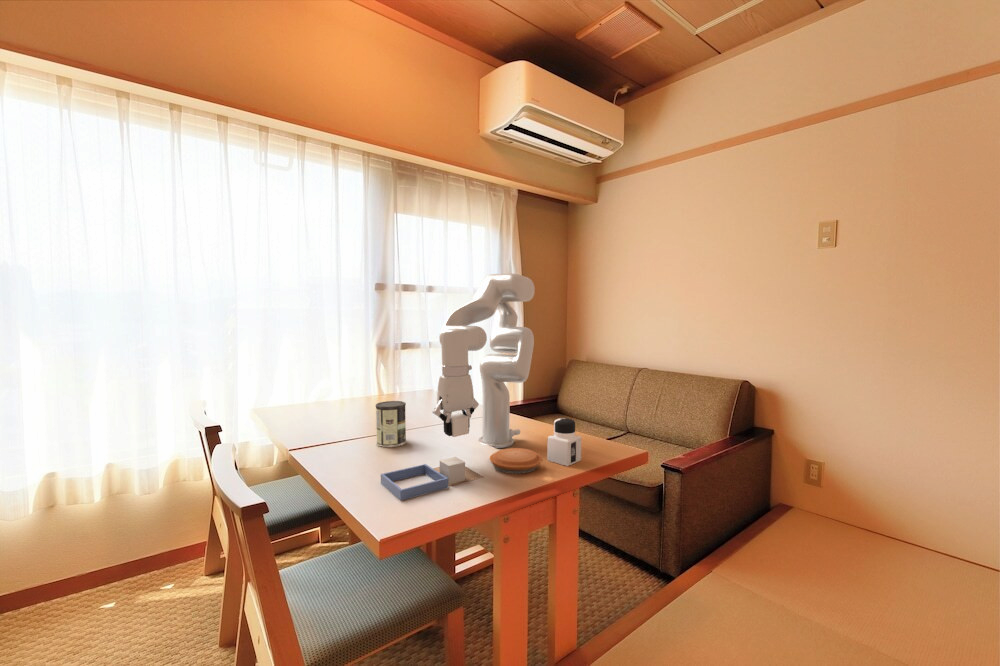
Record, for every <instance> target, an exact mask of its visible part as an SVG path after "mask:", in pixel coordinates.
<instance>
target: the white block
mask: <svg viewBox="0 0 1000 666" xmlns="http://www.w3.org/2000/svg"><path fill="white" fill-rule="evenodd" d="M469 420H470V418H469V417H468V416H466V415H463V413H462V412H461V413H460V412H459V413H458V412H457V413H453V414H451V418H450V422H451V423H452V436H451V437H453V438H456V437H460V436H465V435H468V434H470V427H469Z"/></svg>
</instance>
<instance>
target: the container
mask: <svg viewBox="0 0 1000 666" xmlns="http://www.w3.org/2000/svg"><path fill="white" fill-rule="evenodd" d="M546 455H547V461H548V462H550V463H554V462H555V463H554V464H557V463H558V465H561V466H564V465H565V467H569V465H570V466H572V465H573V464H576V463H578V462H581V461H582V436H581V435H578V434H577V435H576V421H575V420H574V419H572V418H567V417H563V418H562V417H560V418H557V419H555V420H554V421H553V434H551V435H549V436H547V454H546Z"/></svg>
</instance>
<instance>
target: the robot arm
mask: <svg viewBox="0 0 1000 666" xmlns="http://www.w3.org/2000/svg"><path fill="white" fill-rule="evenodd" d="M534 284H535V283H534V282H533V280H532V279H531V278H529V277H527V276H524V275H523V274H518V273H492V274H488V275H486V276H485V277H484V278H483V279H482V281H481V283H480V285H479V286H478V288H477V290H476V292H475V293H474V295H473V297H472V298H471V300H470V301H468V302H466V303H465V304H463V305H462V306H460V307H458V308H457V309H455V310H454V311H453V312H451V313H450V314H449V315H448V317H447V319H445V322H444V324H443V325H442V327H441V329H440V333H439V343H440V345H441V371H442V375H441V376H439V378H438V382H437V391H436V393H437V394H436V395H437V397H436V405H435V407H434V408H433V410H432V414H433V415H435V416H437V417H438V418H440V419H441V421H442V422H443V432H444V434H445V435H446V436H448V437H453V436H452V423H451V422H450V418H451V415H452V413H454V412H459V411H461V414H463V415H466V416H468V417H469V428H470V426H471V425H470V424H471V423H470V421H471V420H470V418H471V417H472V415H473V414H474V412H475V410H476V409H477V408H478V407H479V405H480V404H479V402H478V401H477V400H476V398H475V396H474V386H473V381H472V375H471V374H470V371H472V369H473V368H472V365H470V364H469V352H474V351H475V352H477V351H480V350H482V349H483V348H484V347H485V346H486V343H487V340H488V339H487V337H488V336H487V333H486V331H485V329H484V328H482V327H481V326H477V325H472V324H476V323H479V322H482V321H486V320H488V319H490V318H491V317H493V316H494V319H493V323H492V326H491V327H492V328H491V333H490V336H489V347H490V349H491V351H493V352H495V353H490V354H486V355H484V356H483V357H482V358H481V360H480V362H479V374H480V377H481V387H482V436H481V437H479V438H478V440H477V442H479V443H480V444H482V445H486V446H489V447H491V448H494V449H506V448H509V447H511V446H513V445H514V442H515V439H514V438H513V437H515V436H517V435H518V436H519V435H520V434H521V430H520V429H519V428H516V429H513V428H510V412H511V411H510V407H511V405H510V403H511V402H510V401H511V399H510V391H509V388H508V387H507V386H506V383H516V384H520V383H524V382H526V381H527V380H528V378H529V375H530V370H531V365H532V359H533V351H534V346H535V337H534V333H533V330H532V329H530V327H529V328H528V327H526V326H517V323H518V318H519V317H518V314H517V312H516V310H515V309H514V308H513V306H512V305H511V304H510V302H511V303H512V302H517V303H518V302H523V303H525V302H530V301H531V300H533V298H534V296H535V290H536V288H535V285H534ZM441 411H443V412H441Z"/></svg>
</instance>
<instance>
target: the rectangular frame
mask: <svg viewBox="0 0 1000 666" xmlns="http://www.w3.org/2000/svg"><path fill="white" fill-rule="evenodd" d="M433 468H434V467H431V466H430V465H428V464H426V463H423V464H419V465H416V466H415V465H414V466H411V467H406V468H402V469H397V470H392V471H388V472H384V473H381V474H380V484H381V485H382V486H383V487H384V488H386V489H387V490H388V492H390V493H391V494H392V495H393V496H394V497H396V498H397V499H398V500H399V501H405V500H408V499H411V498H416V497H419V496H422V495H427V494H430V493H435V492H437V491H442V490H445V489H448V488H449V486H448V478H447V477H445V476H444V475H442V474H441V473H439V472H437V471H436V470H434V469H433ZM419 475H420V476H421V475H426V476H428V477H429V478H430V479H432V481H430V482H424V483H421V484H417V485H413V486H409V487H405V488H401V487H400V486H399V485H397V484H396V483H395V481H400V480H404V479H408V478H411V477H416V476H419Z"/></svg>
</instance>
